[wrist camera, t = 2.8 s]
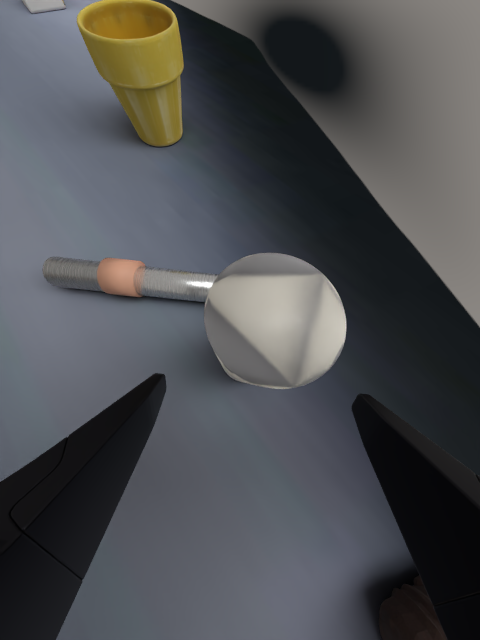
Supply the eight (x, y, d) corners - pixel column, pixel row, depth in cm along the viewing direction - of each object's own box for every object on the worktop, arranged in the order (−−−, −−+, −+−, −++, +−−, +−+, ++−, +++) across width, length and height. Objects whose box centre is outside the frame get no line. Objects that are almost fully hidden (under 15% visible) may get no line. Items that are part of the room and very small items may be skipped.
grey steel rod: (302, 319, 20) (316, 307, 17) (63, 294, 20) (29, 276, 16) (301, 290, 21) (315, 273, 18) (76, 265, 21) (46, 243, 17)
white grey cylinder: (268, 384, 18) (353, 396, 6) (217, 379, 18) (192, 381, 6) (270, 335, 20) (340, 260, 7) (223, 330, 19) (214, 246, 7)
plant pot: (113, 126, 28) (57, 4, 19) (170, 106, 31) (145, -12, 22) (148, 165, 26) (104, 48, 17) (207, 140, 29) (196, 26, 19)
